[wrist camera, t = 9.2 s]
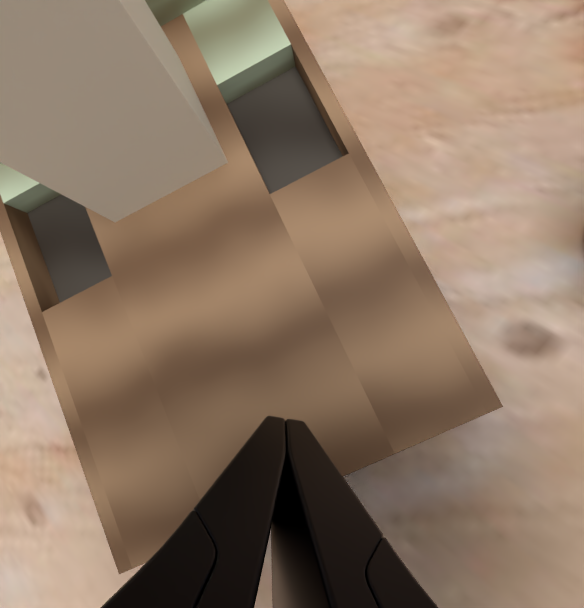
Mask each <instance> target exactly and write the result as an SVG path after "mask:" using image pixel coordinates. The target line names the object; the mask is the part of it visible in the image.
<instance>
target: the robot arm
mask: <svg viewBox="0 0 584 608" xmlns="http://www.w3.org/2000/svg"><path fill="white" fill-rule="evenodd" d="M270 530H271V554H272V601H273V608H438V607H437V605H436V604H435V603H434V602H433V601H432V599H431V598H430V597H429V596H428V594H427V593H426V592H425V591H424V589H423V588H422V587H421V586H420V584H419V583H418V582H417V581H416V579H415V578H414V577H413V575H412V574H411V573H410V571H409V570H408V568H407V567H406V566H405V564H404V563H403V562H402V560H401V559H400V558H399V556H398V555H397V553H396V552H395V551H394V549H393V548H392V546H391V545H390V543H389V542H388V541H387V539H386V538H383V534H382V532H381V531H380V529H379V528H378V526H377V525H376V524H375V522H374V521H373V519H372V518H371V516H370V515H369V514H368V512H367V511H366V509H365V508H364V506H363V505H362V504H361V502H360V501H359V499H358V498H357V496H356V495H355V494H354V492H353V491H352V489H351V488H350V486H349V485H348V484H347V482H346V481H345V479H344V478H343V476H342V475H341V473H340V472H339V471H338V469H337V468H336V466H335V465H334V463H333V462H332V461H331V459H330V458H329V456H328V455H327V453H326V452H325V451H324V449H323V448H322V446H321V445H320V443H319V442H318V441H317V439H316V438H315V436H314V435H313V433H312V432H311V431H310V429H309V428H308V426H307V425H306V423H305V422H304V421H301V420H294V419H286V421H285V419H284V418H282V417H275V416H267V417H265V419H264V420H263V421H262V422H261V424H260V425H259V426H258V428H257V429H256V430H255V431H254V433H253V434H252V435H251V436H250V438H249V439H248V440H247V441H246V443H245V444H244V445H243V446H242V448H241V449H240V450H239V452H238V453H237V454H236V455H235V457H234V458H233V459H232V460H231V462H230V463H229V464H228V465H227V467H226V468H225V469H224V470H223V472H222V473H221V474H220V475H219V477H218V478H217V479H216V481H215V482H214V483H213V484H212V486H211V487H210V488H209V489H208V491H207V492H206V493H205V494H204V496H203V497H202V498H201V499H200V501H199V502H198V503H197V505H196V506H195V507H194V509H193V511H191V512H190V513H189V514H188V516H187V517H186V518H185V519H184V521H183V522H182V523H181V524H180V526H179V527H178V528H177V529H176V530H175V532H174V533H173V534H172V535H171V536H170V537H169V539H168V540H167V541H166V542H165V543H164V544H163V546H162V547H161V548H160V549H159V550H158V551H157V552H156V553H155V554H154V555H153V556H152V557H151V558H150V559H149V560H148V561H147V562H146V563H145V564H144V565H143V566H142V567H141V569H140V570H139V571H138V572H137V573H136V574H135V575H134V576H132V577H131V578H130V579H129V580H128V581H127V582H126V583H125V584H124V585H123V586H122V587H121V588H120V589H119V590H118V591H117V592H116V593H115V594H114V595H113V596H112V597H111V598H110V599H109V600H108V601H107V602H106V603H105V604H104V605H103V606H102V607H101V608H254V605H255V601H256V596H257V591H258V587H259V582H260V577H261V572H262V568H263V563H264V558H265V554H266V549H267V544H268V540H269V535H270Z"/></svg>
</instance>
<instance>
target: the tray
mask: <svg viewBox="0 0 584 608" xmlns="http://www.w3.org/2000/svg"><path fill="white" fill-rule="evenodd" d="M145 1H146V3H147V5H148V6H149V8H150V10H151V11H152V13H153V15H154V16H155V18H156V20H157V21H158V23H159V25H160V26H161V28H162V30H163V31H164V33H165V35H166V36H167V38H168V40H169V41H170V43H171V45H172V46H173V48H174V50H175V51H176V53H177V55H178V56H179V58H180V60H181V63H182V65H183V67H184V69H185V71H186V73H187V75H188V78H189V80H190V82H191V84H192V86H193V88H194V90H195V93H196V95H197V97H198V99H199V101H200V103H201V105H202V107H203V110H204V112H205V114H206V116H207V118H208V120H209V122H210V125H211V127H212V129H213V131H214V133H215V135H216V137H217V140H218V142H219V144H220V146H221V148H222V150H223V152H224V154H225V157H226V159H227V161H228V163H226V164H225V165H223V166H221V167H219V168H217V169H215V170H213V171H211V172H209V173H208V174H206V175H204V176H202V177H200V178H198V179H196V180H194V181H192V182H191V183H189V184H187V185H185V186H183V187H181V188H179V189H177V190H175V191H174V192H172V193H170V194H168V195H166V196H164V197H162V198H160V199H158V200H157V201H155V202H153V203H151V204H149V205H147V206H145V207H143V208H141V209H140V210H138V211H136V212H134V213H132V214H130V215H128V216H126V217H125V218H123V219H121V220H119V221H117V222H113V221H111V220H109V219H107V218H106V217H104V216H102V215H100V214H98V213H96V212H94V211H92V210H90V209H88V208H86V207H85V206H83V205H81V204H79V203H77V202H75V201H73V200H71V199H69V198H67V197H65V196H63V195H62V194H60V193H58V192H56V191H54V190H52V189H50V188H48V187H46V186H44V185H42V184H41V183H39V182H37V181H35V180H33V179H31V178H29V177H27V176H25V175H23V174H21V173H20V172H18V171H16V170H14V169H12V168H10V167H8V166H6V165H4V164H2V163H0V232H1V235H2V238H3V240H4V243H5V246H6V249H7V252H8V255H9V258H10V261H11V264H12V266H13V269H14V272H15V275H16V278H17V281H18V284H19V287H20V289H21V292H22V295H23V298H24V301H25V304H26V307H27V310H28V313H29V315H30V318H31V321H32V324H33V327H34V330H35V333H36V336H37V339H38V341H39V344H40V347H41V350H42V353H43V356H44V359H45V362H46V364H47V367H48V370H49V373H50V376H51V379H52V382H53V385H54V388H55V390H56V393H57V396H58V399H59V402H60V405H61V408H62V411H63V414H64V416H65V419H66V422H67V425H68V428H69V431H70V434H71V437H72V440H73V442H74V445H75V448H76V451H77V454H78V457H79V460H80V463H81V465H82V468H83V471H84V474H85V477H86V480H87V483H88V486H89V489H90V491H91V494H92V497H93V500H94V503H95V506H96V509H97V512H98V515H99V517H100V520H101V523H102V526H103V529H104V532H105V535H106V538H107V540H108V543H109V546H110V549H111V552H112V555H113V558H114V561H115V564H116V566H117V569H118V572H119V574H121V573H123V572H125V571H128V570H130V569H132V568H135V567H137V566H139V565H141V564H144V563H146V562H147V561H148V560H149V559H150V558H151V557H152V556H153V555H154V554H155V553H156V552H157V551H158V550H159V549H160V548H161V547H162V546H163V544H164V543H165V542H166V541H167V540H168V539H169V537H170V536H171V535H172V534H173V533H174V532H175V530H176V529H177V528H178V527H179V526H180V524H181V523H182V522H183V521H184V519H185V518H186V517H187V516H188V514H189V513H190V512H191V511H193V509H194V507H195V506H196V505H197V503H198V502H199V501H200V499H201V498H202V497H203V496H204V494H205V493H206V492H207V491H208V489H209V488H210V487H211V486H212V484H213V483H214V482H215V481H216V479H217V478H218V477H219V475H220V474H221V473H222V472H223V470H224V469H225V468H226V467H227V465H228V464H229V463H230V462H231V460H232V459H233V458H234V457H235V455H236V454H237V453H238V452H239V450H240V449H241V448H242V446H243V445H244V444H245V443H246V441H247V440H248V439H249V438H250V436H251V435H252V434H253V433H254V431H255V430H256V429H257V428H258V426H259V425H260V424H261V422H262V421H263V420H264V419H265V417H267V416H275V417H282V418H284V419H285V421H286V419H294V420H301V421H304V422H305V423H306V425H307V426H308V428H309V429H310V431H311V432H312V433H313V435H314V436H315V438H316V439H317V441H318V442H319V443H320V445H321V446H322V448H323V449H324V451H325V452H326V453H327V455H328V456H329V458H330V459H331V461H332V462H333V463H334V465H335V466H336V468H337V469H338V471H339V472H340V473H341V475H342V476H345V475H347V474H350V473H352V472H354V471H357V470H359V469H361V468H363V467H366V466H368V465H370V464H373V463H375V462H377V461H379V460H382V459H384V458H386V457H389V456H391V455H393V454H395V453H398V452H400V451H402V450H405V449H407V448H409V447H411V446H414V445H416V444H418V443H421V442H423V441H425V440H427V439H430V438H432V437H434V436H437V435H439V434H441V433H444V432H446V431H448V430H450V429H453V428H455V427H457V426H460V425H462V424H464V423H466V422H469V421H471V420H473V419H476V418H478V417H480V416H482V415H485V414H487V413H489V412H492V411H494V410H496V409H498V408H501V407H503V406H502V404H501V402H500V400H499V398H498V396H497V395H496V393H495V391H494V389H493V387H492V385H491V384H490V382H489V380H488V378H487V376H486V374H485V372H484V371H483V369H482V367H481V365H480V363H479V361H478V359H477V358H476V356H475V354H474V352H473V350H472V348H471V346H470V345H469V343H468V341H467V339H466V337H465V335H464V333H463V332H462V330H461V328H460V326H459V324H458V322H457V320H456V319H455V317H454V315H453V313H452V311H451V309H450V308H449V306H448V304H447V302H446V300H445V298H444V296H443V295H442V293H441V291H440V289H439V287H438V285H437V283H436V282H435V280H434V278H433V276H432V274H431V272H430V270H429V269H428V267H427V265H426V263H425V261H424V259H423V257H422V256H421V254H420V252H419V250H418V248H417V246H416V244H415V243H414V241H413V239H412V237H411V235H410V233H409V232H408V230H407V228H406V226H405V224H404V222H403V220H402V219H401V217H400V215H399V213H398V211H397V209H396V207H395V206H394V204H393V202H392V200H391V198H390V196H389V194H388V193H387V191H386V189H385V187H384V185H383V183H382V181H381V180H380V178H379V176H378V174H377V172H376V170H375V169H374V167H373V165H372V163H371V161H370V159H369V157H368V156H367V154H366V152H365V150H364V148H363V146H362V144H361V143H360V141H359V139H358V137H357V135H356V133H355V131H354V130H353V128H352V126H351V124H350V122H349V120H348V118H347V117H346V115H345V113H344V111H343V109H342V107H341V105H340V104H339V102H338V100H337V98H336V96H335V94H334V93H333V91H332V89H331V87H330V85H329V83H328V81H327V80H326V78H325V76H324V74H323V72H322V70H321V68H320V67H319V65H318V63H317V61H316V59H315V57H314V55H313V54H312V52H311V50H310V48H309V46H308V44H307V42H306V41H305V39H304V37H303V35H302V33H301V31H300V29H299V28H298V26H297V24H296V22H295V20H294V18H293V17H292V15H291V13H290V11H289V9H288V7H287V5H286V4H285V2H284V0H145Z"/></svg>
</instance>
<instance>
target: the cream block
mask: <svg viewBox="0 0 584 608" xmlns="http://www.w3.org/2000/svg"><path fill="white" fill-rule="evenodd" d="M0 163H2V164H4V165H6V166H8V167H10V168H12V169H14V170H16V171H18V172H20V173H21V174H23V175H25V176H27V177H29V178H31V179H33V180H35V181H37V182H39V183H41V184H42V185H44V186H46V187H48V188H50V189H52V190H54V191H56V192H58V193H60V194H62V195H63V196H65V197H67V198H69V199H71V200H73V201H75V202H77V203H79V204H81V205H83V206H85V207H86V208H88V209H90V210H92V211H94V212H96V213H98V214H100V215H102V216H104V217H106V218H107V219H109V220H111V221H113V222H117V221H119V220H121V219H123V218H125V217H126V216H128V215H130V214H132V213H134V212H136V211H138V210H140V209H141V208H143V207H145V206H147V205H149V204H151V203H153V202H155V201H157V200H158V199H160V198H162V197H164V196H166V195H168V194H170V193H172V192H174V191H175V190H177V189H179V188H181V187H183V186H185V185H187V184H189V183H191V182H192V181H194V180H196V179H198V178H200V177H202V176H204V175H206V174H208V173H209V172H211V171H213V170H215V169H217V168H219V167H221V166H223V165H225V164H226V163H228V161H227V159H226V157H225V154H224V152H223V150H222V148H221V146H220V144H219V142H218V140H217V137H216V135H215V133H214V131H213V129H212V127H211V125H210V122H209V120H208V118H207V116H206V114H205V112H204V110H203V107H202V105H201V103H200V101H199V99H198V97H197V95H196V93H195V90H194V88H193V86H192V84H191V82H190V80H189V78H188V75H187V73H186V71H185V69H184V67H183V65H182V63H181V60H180V58H179V56H178V55H177V53H176V51H175V50H174V48H173V46H172V45H171V43H170V41H169V40H168V38H167V36H166V35H165V33H164V31H163V30H162V28H161V26H160V25H159V23H158V21H157V20H156V18H155V16H154V15H153V13H152V11H151V10H150V8H149V6H148V5H147V3H146V1H145V0H0Z"/></svg>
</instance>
